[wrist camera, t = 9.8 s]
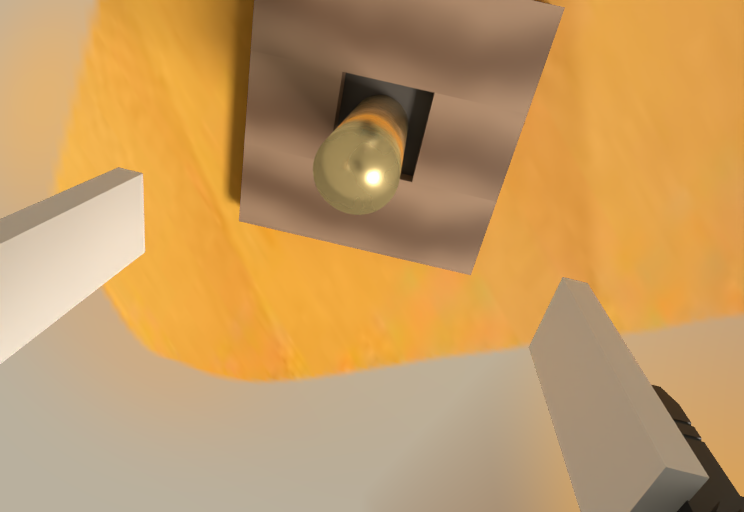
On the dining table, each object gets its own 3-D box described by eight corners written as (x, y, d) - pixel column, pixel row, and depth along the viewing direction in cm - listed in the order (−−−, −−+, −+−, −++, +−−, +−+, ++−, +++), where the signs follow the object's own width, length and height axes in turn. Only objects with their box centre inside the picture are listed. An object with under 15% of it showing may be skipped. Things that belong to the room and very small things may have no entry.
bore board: (269, -56, 27) (258, -62, 26) (555, 9, 27) (564, 7, 25) (248, 211, 36) (239, 221, 34) (468, 263, 35) (470, 275, 34)
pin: (355, 89, 30) (318, 120, 19) (414, 101, 30) (408, 139, 19) (346, 147, 32) (308, 205, 21) (401, 159, 32) (390, 222, 21)
